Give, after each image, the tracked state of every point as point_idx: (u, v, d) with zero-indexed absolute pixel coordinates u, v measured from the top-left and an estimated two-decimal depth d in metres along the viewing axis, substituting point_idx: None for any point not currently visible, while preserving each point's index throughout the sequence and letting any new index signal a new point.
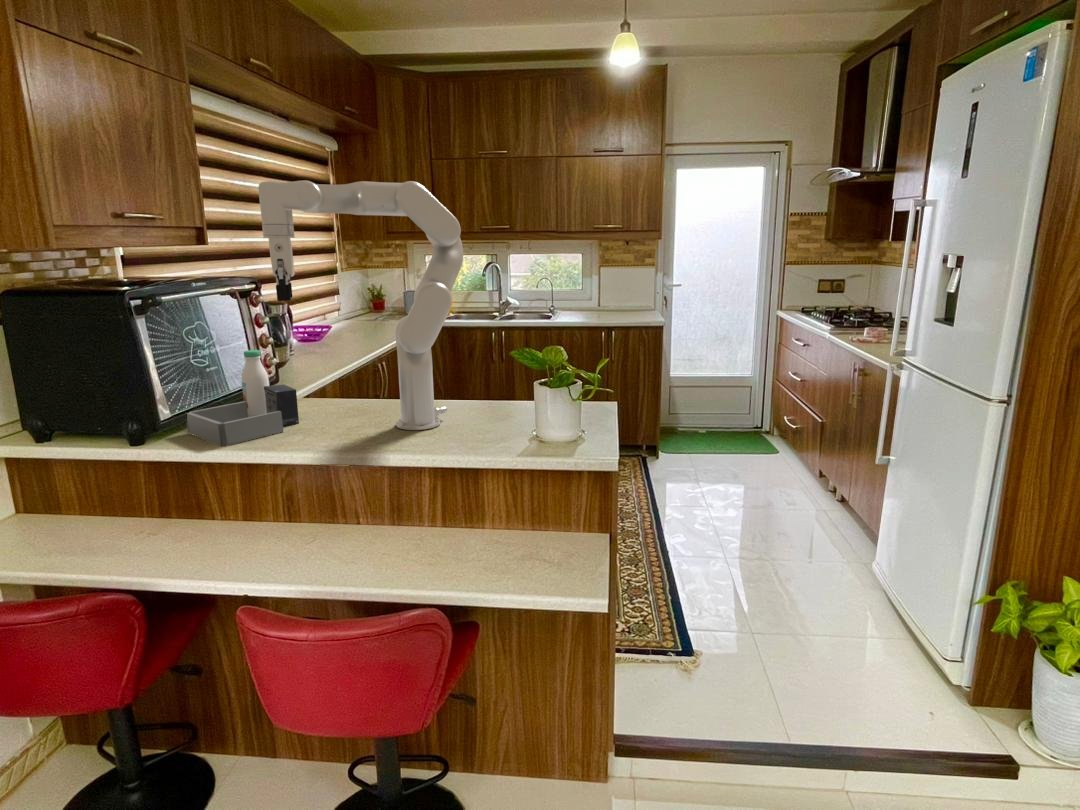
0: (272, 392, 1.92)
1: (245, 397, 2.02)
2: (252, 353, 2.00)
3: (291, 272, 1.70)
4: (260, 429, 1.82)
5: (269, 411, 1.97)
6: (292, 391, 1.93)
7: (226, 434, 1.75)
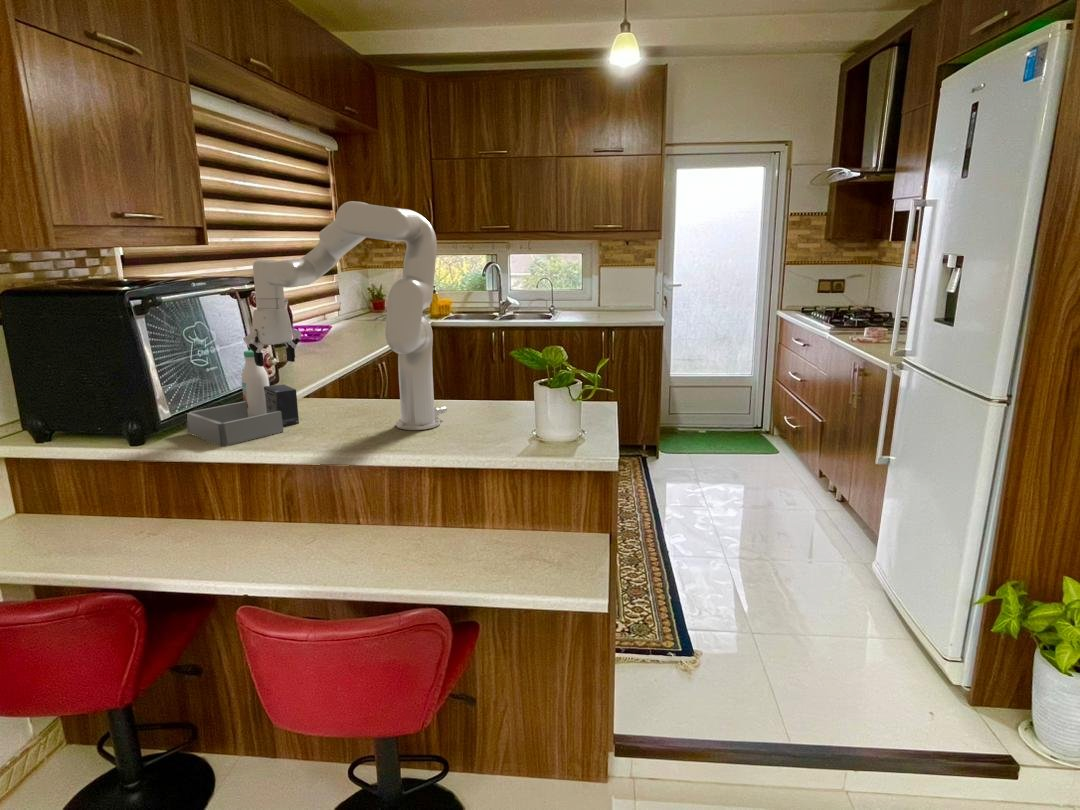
0: (272, 392, 1.92)
1: (245, 397, 2.02)
2: (252, 353, 2.00)
3: None
4: (260, 429, 1.82)
5: (269, 411, 1.97)
6: (292, 391, 1.93)
7: (226, 434, 1.75)
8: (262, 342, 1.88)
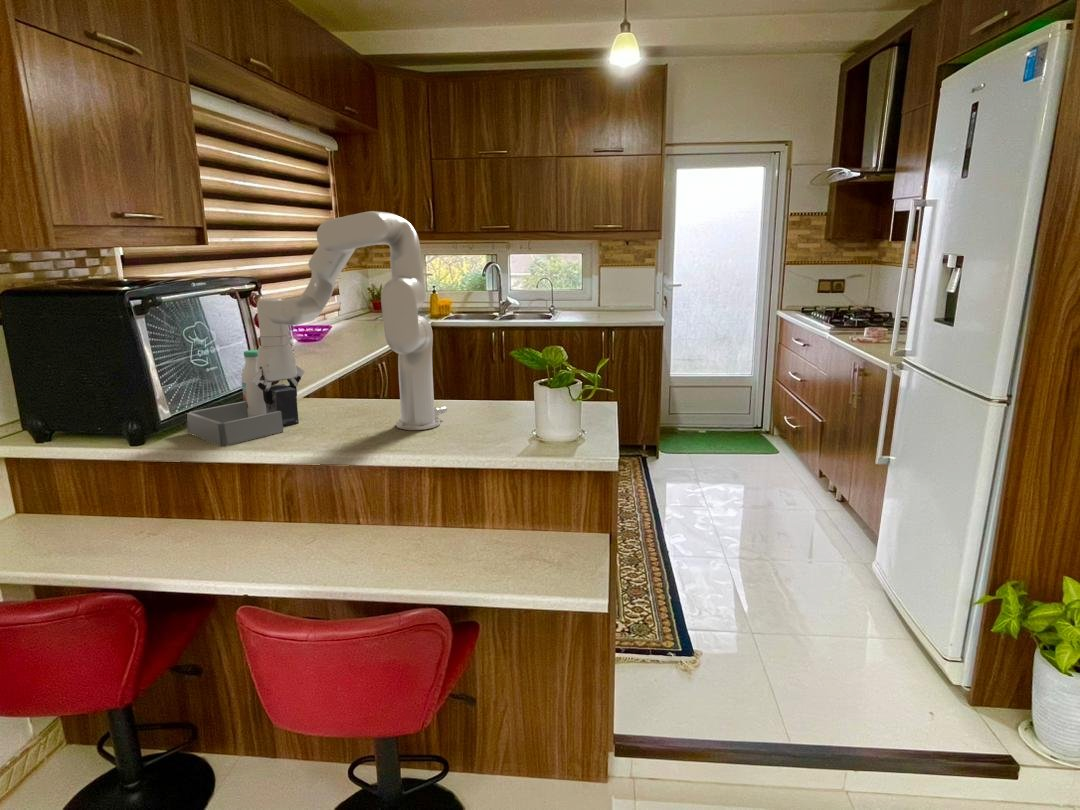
0: (272, 392, 1.92)
1: (245, 397, 2.02)
2: (252, 353, 2.00)
3: None
4: (260, 429, 1.82)
5: (269, 411, 1.97)
6: (292, 391, 1.93)
7: (226, 434, 1.75)
8: (267, 379, 1.90)
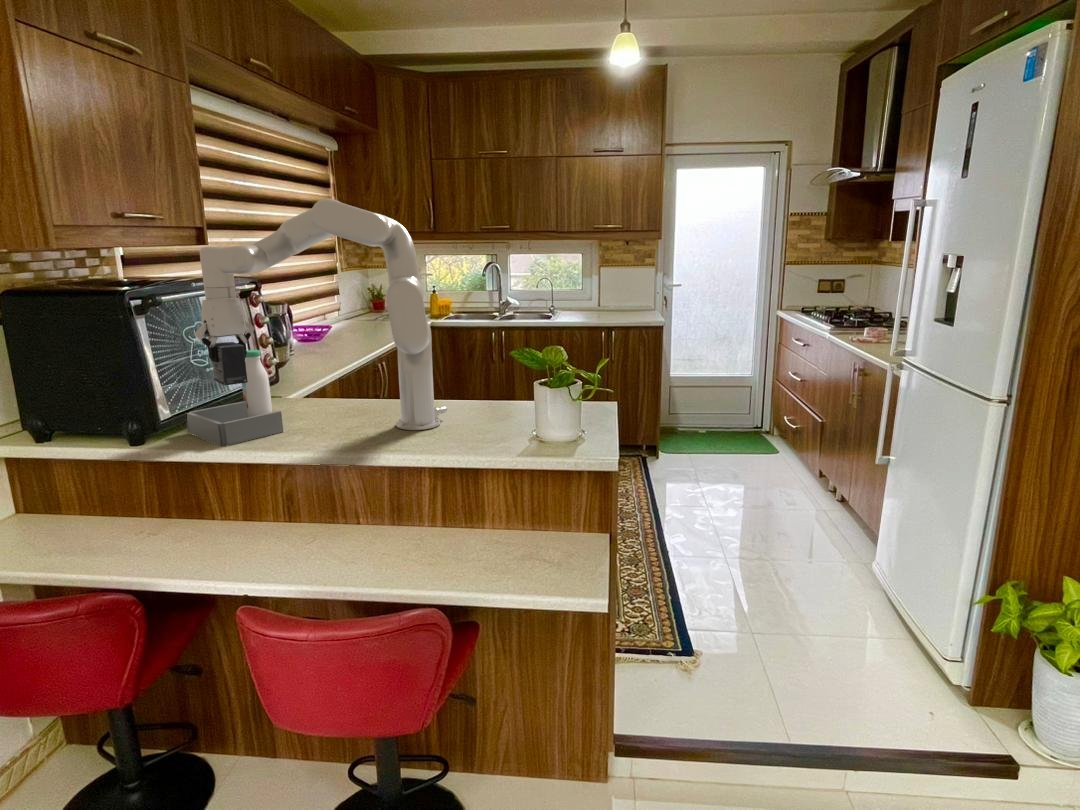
0: (217, 348, 1.78)
1: (245, 397, 2.02)
2: (252, 353, 2.00)
3: None
4: (260, 429, 1.82)
5: (215, 370, 1.83)
6: (239, 347, 1.79)
7: (226, 434, 1.75)
8: (212, 334, 1.76)
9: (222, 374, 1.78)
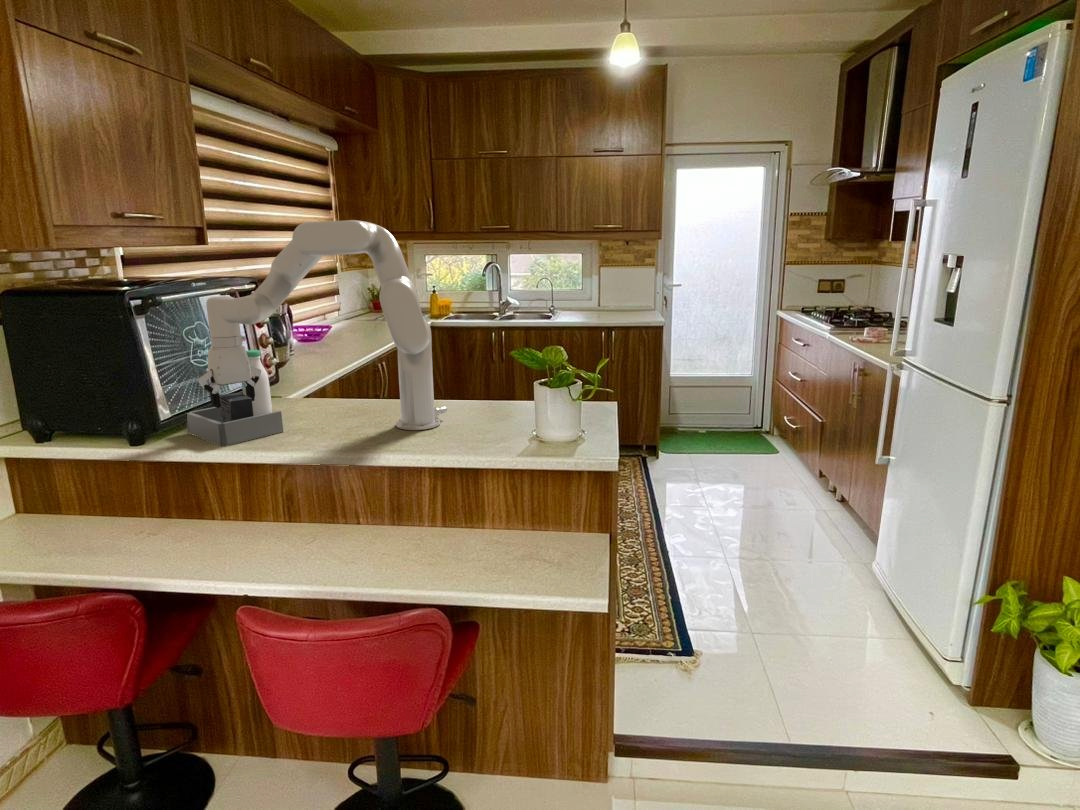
0: (226, 401, 1.81)
1: None
2: (252, 353, 2.00)
3: None
4: (260, 429, 1.82)
5: (223, 421, 1.86)
6: (247, 400, 1.83)
7: (226, 434, 1.75)
8: (218, 383, 1.79)
9: None
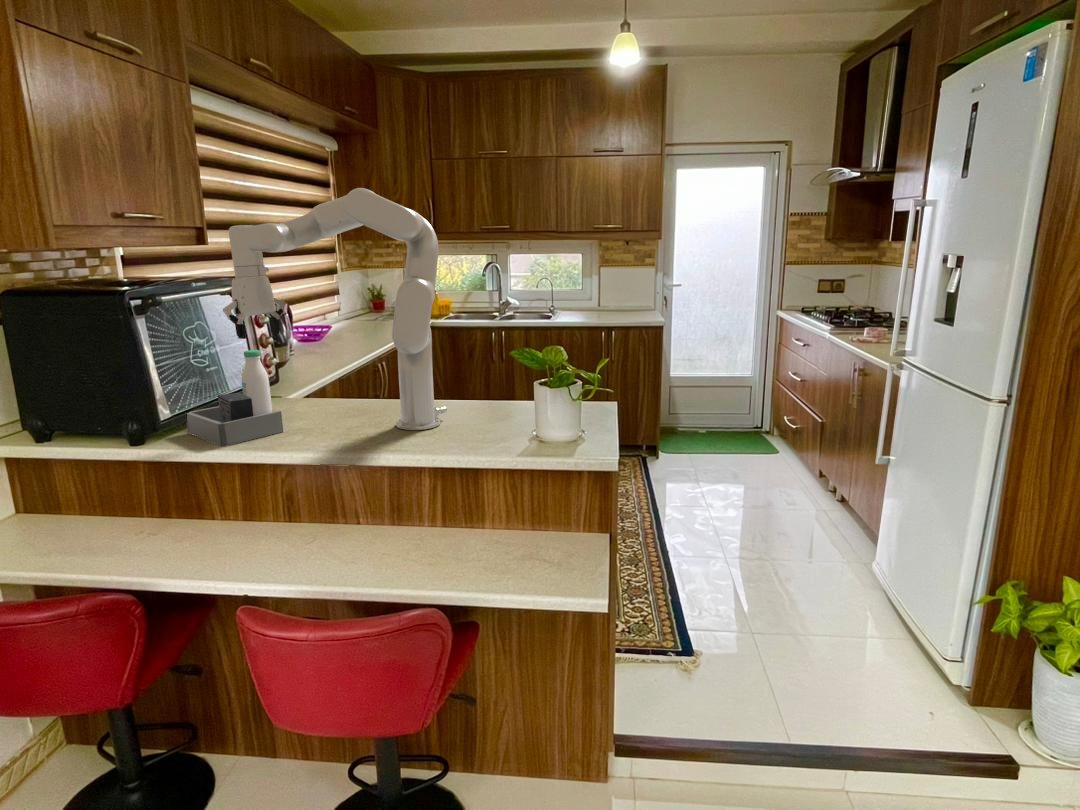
0: (226, 401, 1.81)
1: None
2: (252, 353, 2.00)
3: None
4: (260, 429, 1.82)
5: (223, 421, 1.86)
6: (247, 400, 1.83)
7: (226, 434, 1.75)
8: (243, 313, 1.77)
9: None
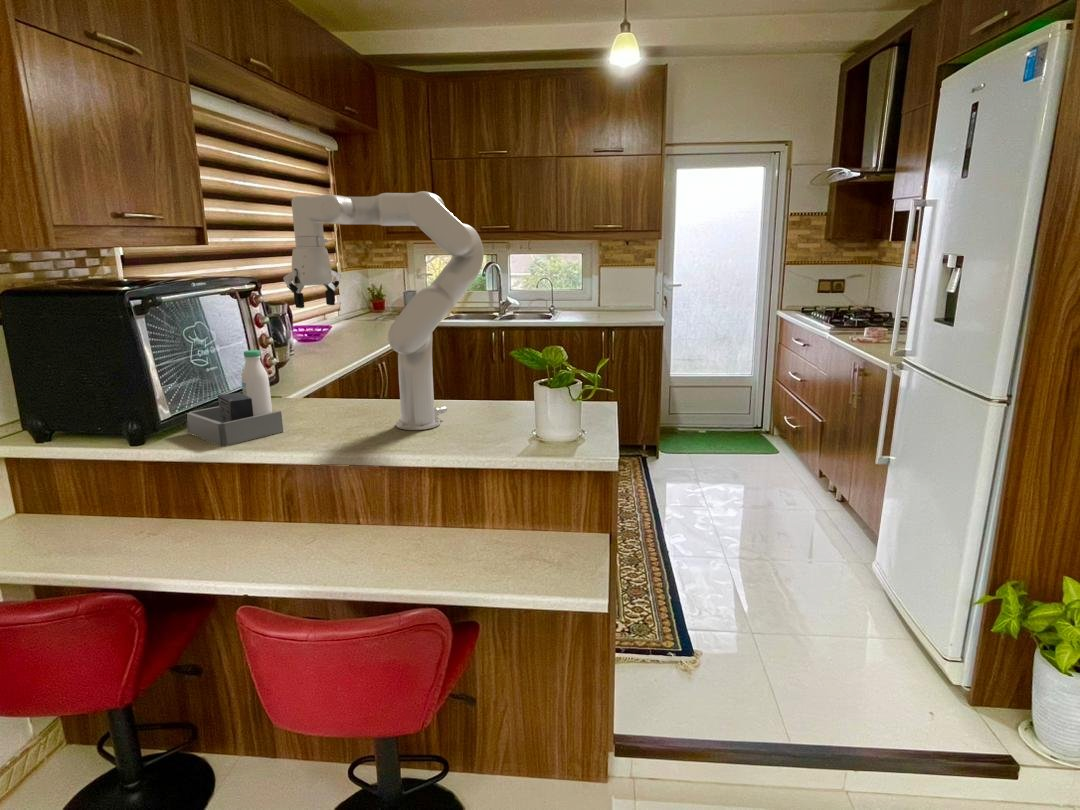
0: (226, 401, 1.81)
1: None
2: (252, 353, 2.00)
3: None
4: (260, 429, 1.82)
5: (223, 421, 1.86)
6: (247, 400, 1.83)
7: (226, 434, 1.75)
8: (302, 282, 1.80)
9: None
